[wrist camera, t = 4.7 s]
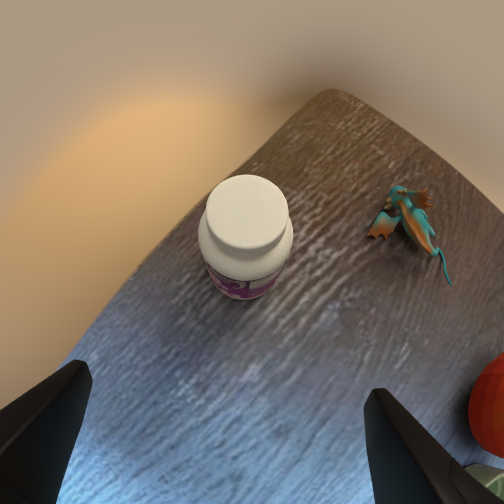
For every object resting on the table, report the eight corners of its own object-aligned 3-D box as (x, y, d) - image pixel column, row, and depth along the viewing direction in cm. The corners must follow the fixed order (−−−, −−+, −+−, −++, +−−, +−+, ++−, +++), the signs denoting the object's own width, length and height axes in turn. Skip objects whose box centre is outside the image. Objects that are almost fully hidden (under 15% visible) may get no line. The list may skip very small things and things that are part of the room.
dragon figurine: (462, 211, 25) (415, 158, 23) (482, 269, 21) (434, 213, 18) (413, 244, 30) (363, 200, 28) (422, 303, 25) (366, 259, 23)
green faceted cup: (460, 531, 16) (487, 546, 11) (415, 523, 17) (443, 543, 12) (497, 470, 18) (529, 477, 13) (458, 455, 19) (493, 465, 14)
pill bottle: (194, 262, 24) (167, 202, 15) (247, 220, 25) (251, 145, 16) (240, 316, 23) (240, 287, 14) (293, 271, 24) (325, 215, 15)
